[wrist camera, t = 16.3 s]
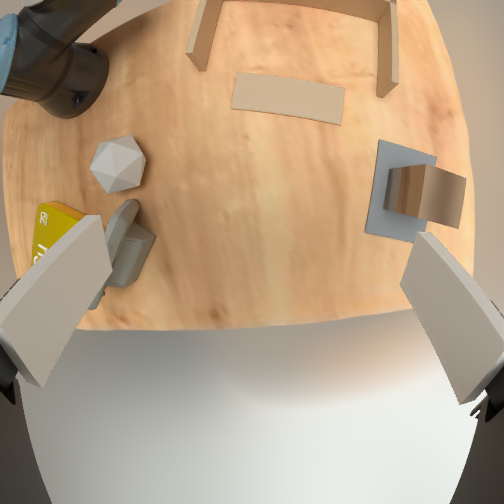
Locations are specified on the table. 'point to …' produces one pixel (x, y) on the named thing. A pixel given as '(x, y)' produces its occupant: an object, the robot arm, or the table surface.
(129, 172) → the die
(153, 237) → the digital clock
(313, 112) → the cardboard walls
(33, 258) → the element tile
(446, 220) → the reflective metal box
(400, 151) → the mat
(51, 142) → the table surface
